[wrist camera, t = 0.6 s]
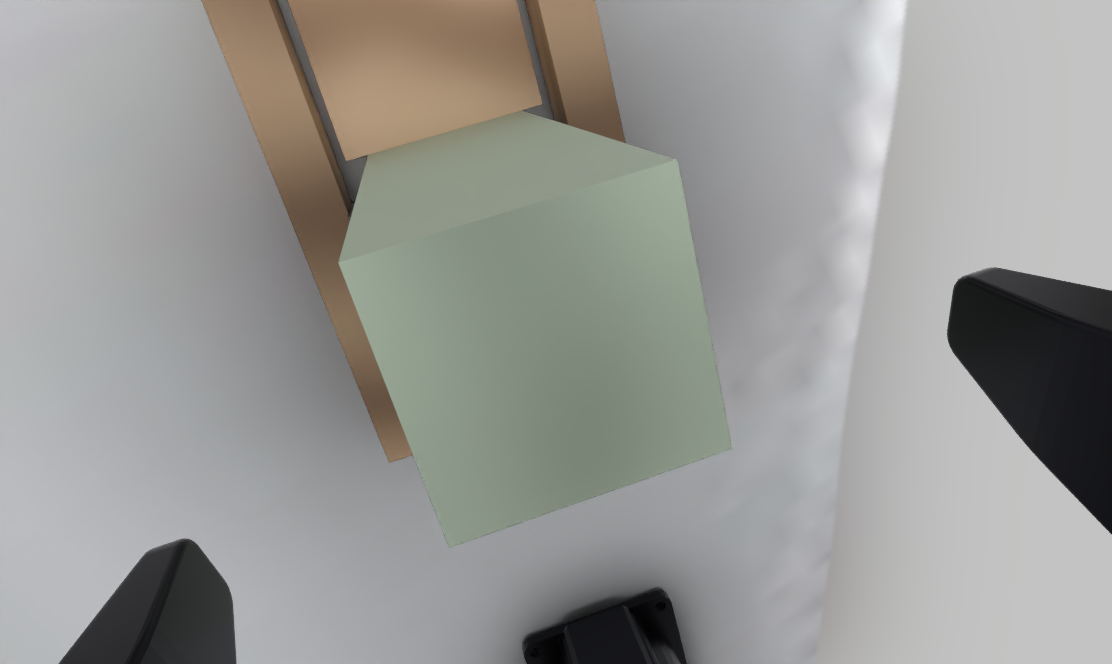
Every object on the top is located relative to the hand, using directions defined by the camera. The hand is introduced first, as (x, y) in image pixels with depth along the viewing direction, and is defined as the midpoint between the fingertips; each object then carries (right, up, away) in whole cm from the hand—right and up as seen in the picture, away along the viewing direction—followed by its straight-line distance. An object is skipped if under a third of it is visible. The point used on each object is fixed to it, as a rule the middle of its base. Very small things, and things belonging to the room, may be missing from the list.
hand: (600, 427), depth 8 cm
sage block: (-3, +5, +16) cm, 17 cm away
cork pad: (-5, +10, +14) cm, 18 cm away
